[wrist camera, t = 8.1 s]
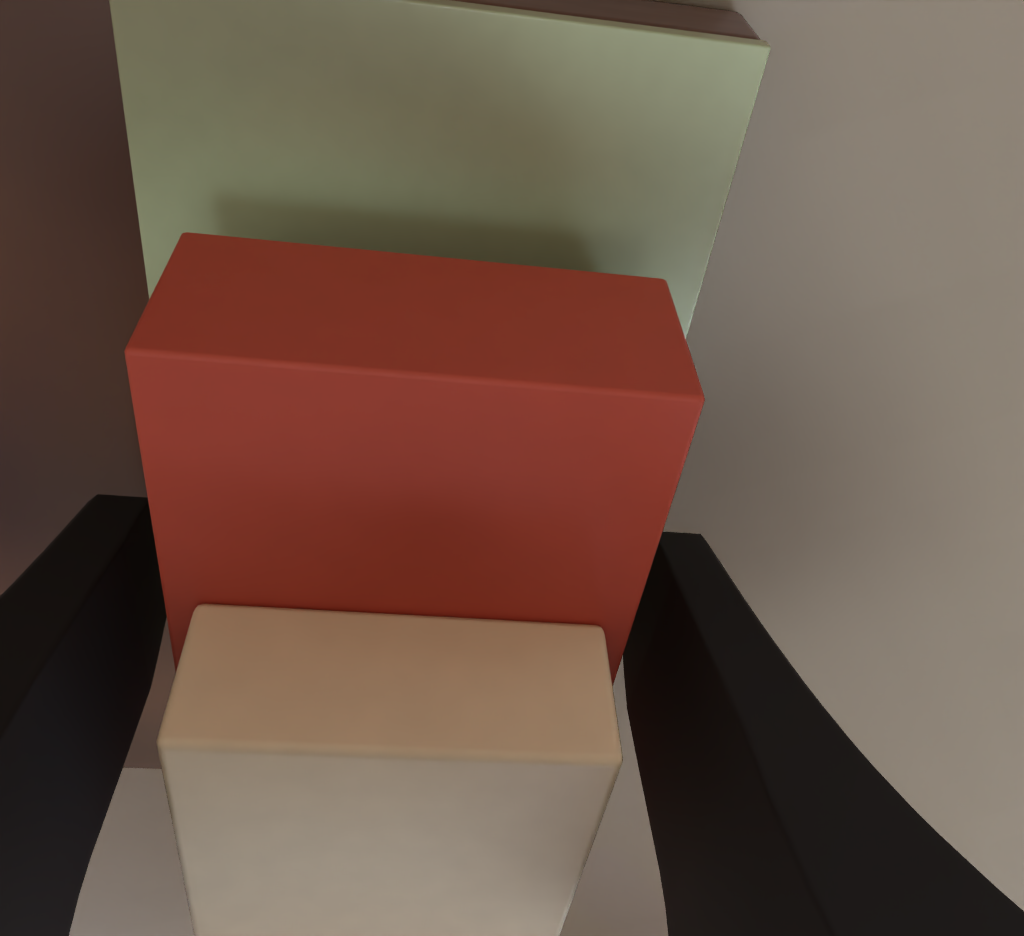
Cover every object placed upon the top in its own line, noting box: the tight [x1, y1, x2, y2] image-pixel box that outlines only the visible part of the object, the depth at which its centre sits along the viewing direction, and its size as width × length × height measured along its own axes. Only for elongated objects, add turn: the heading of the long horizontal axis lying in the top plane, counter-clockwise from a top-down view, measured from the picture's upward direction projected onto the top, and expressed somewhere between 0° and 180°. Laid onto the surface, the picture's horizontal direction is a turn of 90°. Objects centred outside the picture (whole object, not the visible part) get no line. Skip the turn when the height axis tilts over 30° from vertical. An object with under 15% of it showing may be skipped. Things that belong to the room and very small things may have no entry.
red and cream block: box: [124, 232, 705, 936], centre depth 11 cm, size 9×5×5 cm, turn 173°
